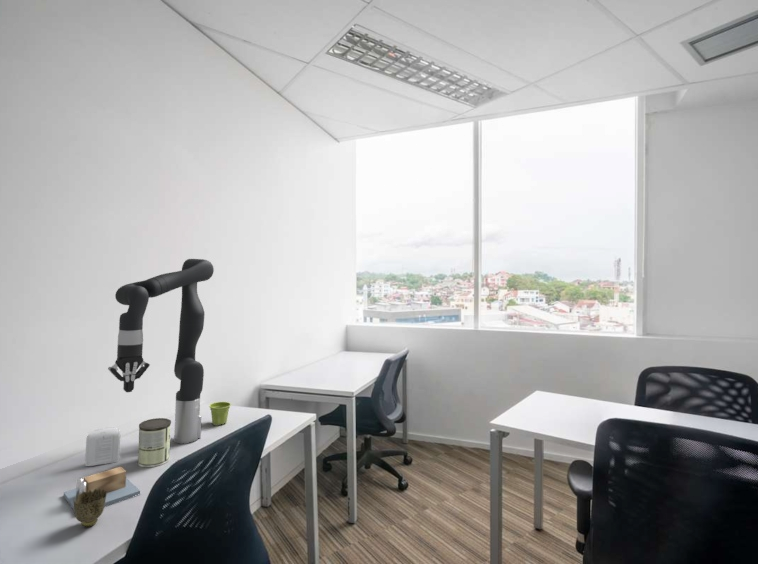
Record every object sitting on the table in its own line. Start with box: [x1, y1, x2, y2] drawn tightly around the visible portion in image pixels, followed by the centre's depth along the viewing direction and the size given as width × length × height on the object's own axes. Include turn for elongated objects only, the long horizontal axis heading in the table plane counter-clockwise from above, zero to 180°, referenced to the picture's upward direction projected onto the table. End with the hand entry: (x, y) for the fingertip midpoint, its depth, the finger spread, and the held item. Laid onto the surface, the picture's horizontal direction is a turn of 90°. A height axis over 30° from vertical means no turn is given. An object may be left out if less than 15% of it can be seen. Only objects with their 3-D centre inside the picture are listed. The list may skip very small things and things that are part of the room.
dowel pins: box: [75, 477, 86, 498], centre depth 121 cm, size 2×5×5 cm, turn 50°
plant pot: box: [208, 401, 232, 426], centre depth 189 cm, size 9×9×9 cm
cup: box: [73, 489, 107, 528], centre depth 111 cm, size 8×7×8 cm
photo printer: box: [84, 427, 122, 467], centre depth 146 cm, size 10×4×12 cm, turn 123°
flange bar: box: [83, 466, 127, 493], centre depth 126 cm, size 10×4×5 cm, turn 140°
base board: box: [63, 477, 141, 511], centre depth 125 cm, size 16×15×1 cm
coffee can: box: [137, 417, 172, 468], centre depth 149 cm, size 10×10×14 cm
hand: (128, 391), depth 142 cm, fingers closed
